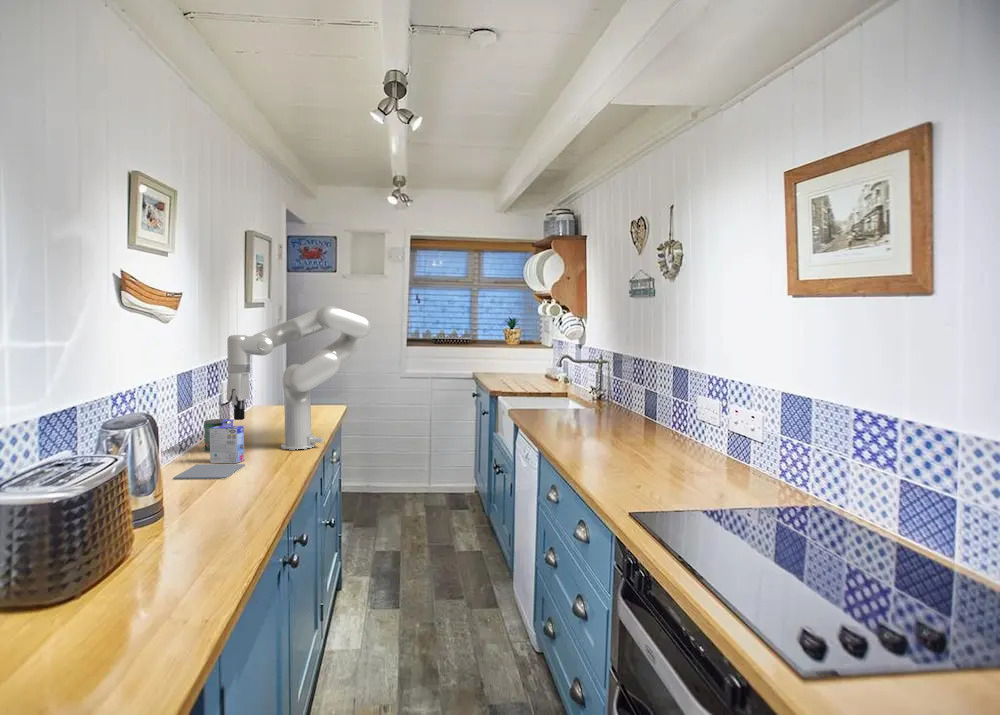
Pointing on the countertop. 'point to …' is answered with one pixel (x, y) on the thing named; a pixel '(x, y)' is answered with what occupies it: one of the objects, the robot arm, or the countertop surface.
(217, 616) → the countertop surface
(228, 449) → the ink cartridge box
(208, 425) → the canned tomato
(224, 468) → the mat
